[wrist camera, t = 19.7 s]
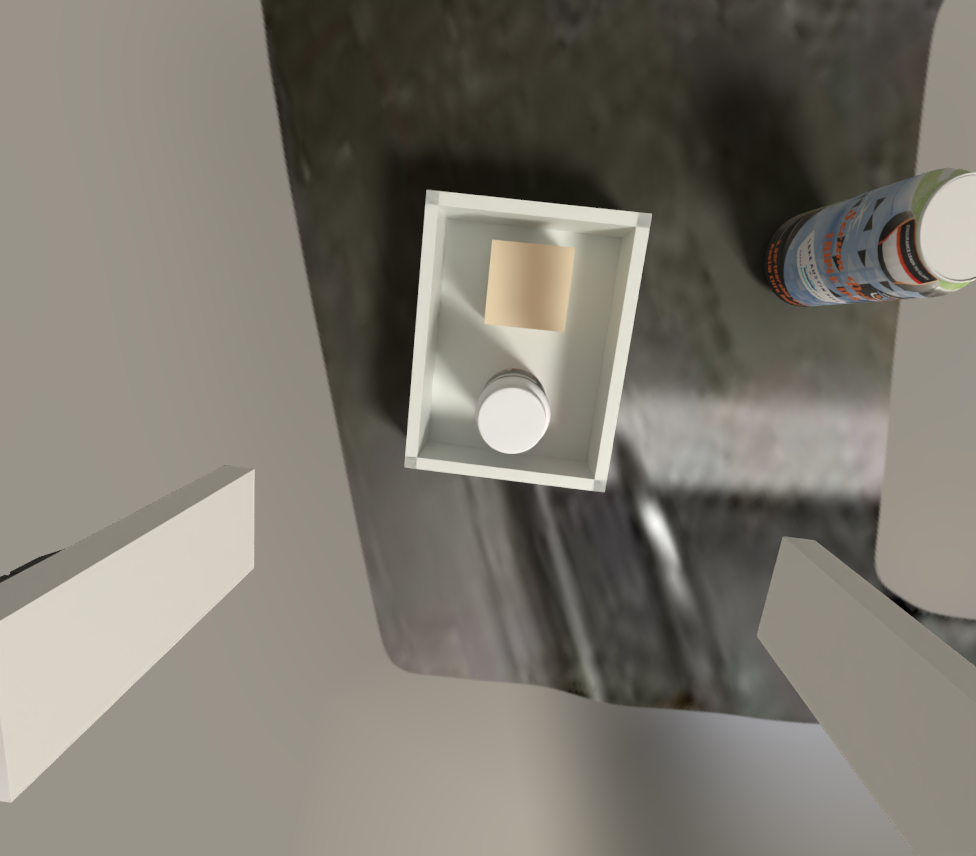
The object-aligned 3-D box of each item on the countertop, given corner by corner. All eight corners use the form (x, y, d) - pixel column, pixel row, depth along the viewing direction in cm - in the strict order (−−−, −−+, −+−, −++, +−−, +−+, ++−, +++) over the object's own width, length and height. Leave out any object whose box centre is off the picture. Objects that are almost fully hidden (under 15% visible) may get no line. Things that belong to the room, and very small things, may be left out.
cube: (488, 322, 37) (483, 323, 32) (495, 250, 36) (492, 239, 31) (558, 330, 37) (564, 332, 32) (567, 257, 36) (575, 247, 31)
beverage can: (743, 237, 35) (854, 197, 24) (852, 191, 34) (1025, 127, 23) (769, 323, 36) (888, 327, 25) (875, 281, 35) (1052, 264, 24)
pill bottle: (539, 435, 38) (545, 467, 30) (477, 425, 38) (466, 454, 30) (551, 372, 37) (560, 388, 29) (487, 362, 37) (478, 375, 29)
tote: (438, 206, 36) (426, 189, 31) (633, 228, 36) (651, 213, 31) (418, 448, 40) (404, 467, 35) (593, 470, 39) (604, 492, 34)
